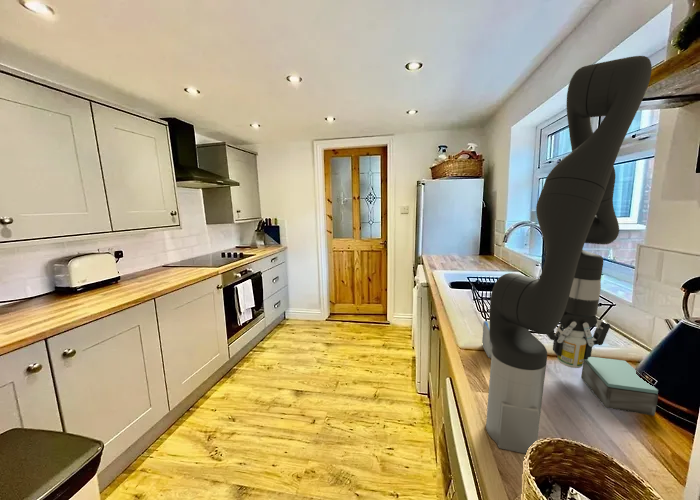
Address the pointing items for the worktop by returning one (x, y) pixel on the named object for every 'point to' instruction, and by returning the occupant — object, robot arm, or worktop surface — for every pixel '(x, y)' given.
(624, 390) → the storage box
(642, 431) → the worktop surface
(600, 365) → the lid
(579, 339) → the supplement bottle
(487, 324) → the medicine box
